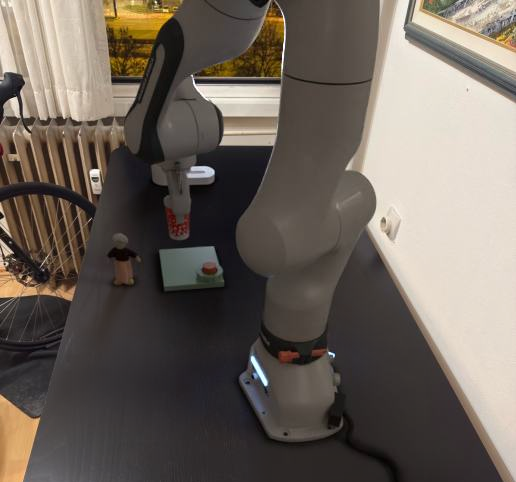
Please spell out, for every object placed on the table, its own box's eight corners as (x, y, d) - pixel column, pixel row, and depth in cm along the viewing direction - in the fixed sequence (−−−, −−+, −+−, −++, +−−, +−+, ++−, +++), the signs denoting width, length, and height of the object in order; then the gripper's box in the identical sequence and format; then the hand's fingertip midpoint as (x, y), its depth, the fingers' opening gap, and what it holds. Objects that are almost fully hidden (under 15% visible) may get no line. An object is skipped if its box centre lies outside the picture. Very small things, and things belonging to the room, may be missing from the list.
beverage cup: (178, 226, 116) (175, 169, 107) (197, 234, 114) (196, 177, 105) (160, 235, 113) (155, 178, 103) (180, 244, 110) (177, 186, 101)
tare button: (217, 274, 112) (217, 268, 111) (203, 275, 112) (203, 269, 111) (215, 267, 115) (215, 260, 114) (201, 267, 114) (201, 261, 113)
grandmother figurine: (109, 288, 110) (101, 239, 102) (109, 278, 113) (100, 230, 104) (143, 284, 112) (138, 236, 103) (142, 275, 115) (136, 228, 106)
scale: (224, 286, 114) (224, 276, 111) (164, 291, 111) (163, 280, 109) (213, 250, 125) (213, 240, 123) (159, 254, 122) (158, 244, 120)
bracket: (153, 185, 150) (151, 164, 146) (151, 174, 157) (150, 153, 152) (216, 184, 154) (216, 163, 150) (212, 172, 160) (212, 152, 156)
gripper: (196, 174, 94) (198, 236, 103) (185, 136, 108) (187, 193, 117) (164, 175, 92) (168, 238, 102) (156, 136, 107) (161, 194, 116)
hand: (178, 214), depth 110 cm, fingers closed on beverage cup, 6 cm apart
